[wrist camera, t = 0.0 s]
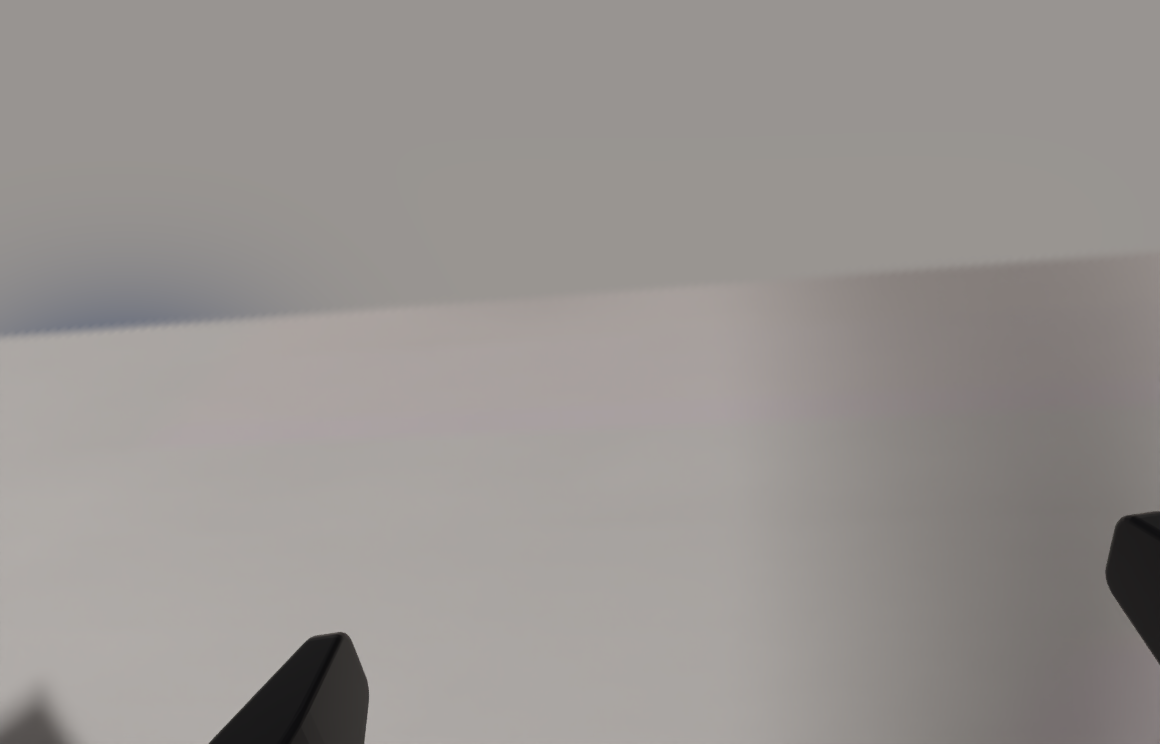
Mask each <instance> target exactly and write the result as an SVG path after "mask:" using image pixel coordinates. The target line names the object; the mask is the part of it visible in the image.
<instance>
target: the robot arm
mask: <svg viewBox="0 0 1160 744" xmlns="http://www.w3.org/2000/svg"><path fill="white" fill-rule="evenodd" d="M1105 573H1106V580H1107V584H1108V586H1109V589H1110V591H1111V592H1112V594H1113V596H1114V597H1115V599H1116V600H1117V602H1118V603H1119V605H1120V606H1121V608H1122V609H1123V611H1124V612H1125V614H1126V615H1127V617H1128V618H1129V620H1130V621H1131V623H1132V624H1133V626H1134V627H1135V629H1136V630H1137V632H1138V633H1139V635H1140V636H1141V637H1142V639H1143V640H1144V642H1145V643H1146V645H1147V646H1148V648H1149V649H1150V651H1151V652H1152V654H1153V655H1154V657H1155V658H1156V660H1157V661H1158V663H1159V664H1160V512H1157V511H1156V512H1147V513H1140V514H1133V515H1127V516H1124V517H1122V518H1121V519H1120V520H1119V521H1118V522H1117V524H1116V526H1115V530H1114V534H1113V539H1112V543H1111V547H1110V552H1109V556H1108V560H1107V565H1106V570H1105ZM368 704H369V688H368V682H367V679H366V676H365V673H364V671H363V668H362V666H361V663H360V661H359V658H358V655H357V653H356V650H355V648H354V645H353V643H352V641H351V639H350V637H349V636H348V635H347V634H346V633H343V632H337V633H330V634H324V635H317V636H314V637H311V638H309V639H308V640H307V641H306V642H305V643H304V644H303V645H302V646H301V647H300V648H299V649H298V650H297V651H296V652H295V653H294V654H293V655H292V656H291V657H290V658H289V659H288V661H287V662H286V663H285V664H284V665H283V666H282V667H281V668H280V669H279V670H278V671H277V672H276V673H275V674H274V675H273V676H272V677H271V678H270V679H269V680H268V682H267V683H266V684H265V685H264V686H263V687H262V688H261V689H260V690H259V691H258V692H257V693H256V694H255V695H254V696H253V697H252V698H251V699H250V700H249V702H248V703H247V704H246V705H245V706H244V707H243V708H242V709H241V710H240V711H239V712H238V713H237V714H236V715H235V716H234V717H233V718H232V719H231V720H230V722H229V723H228V724H227V725H226V726H225V727H224V728H223V729H222V730H221V731H220V732H219V733H218V734H217V735H216V736H215V737H214V738H213V739H212V740H211V742H210V743H209V744H364V740H365V731H366V722H367V713H368Z"/></svg>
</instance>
